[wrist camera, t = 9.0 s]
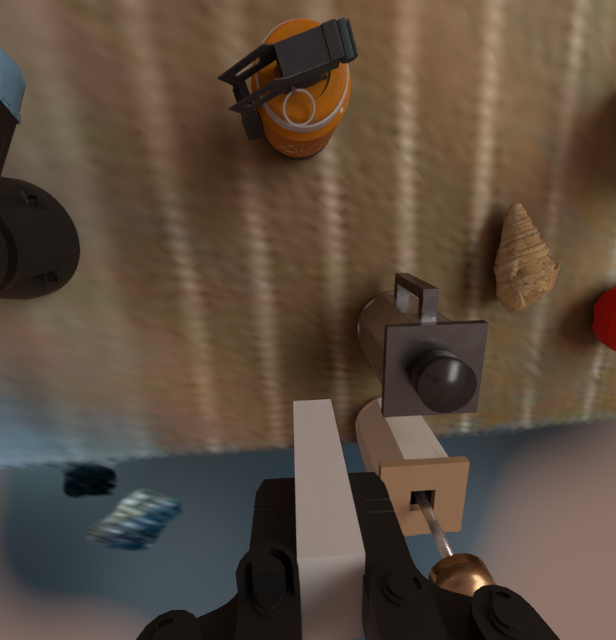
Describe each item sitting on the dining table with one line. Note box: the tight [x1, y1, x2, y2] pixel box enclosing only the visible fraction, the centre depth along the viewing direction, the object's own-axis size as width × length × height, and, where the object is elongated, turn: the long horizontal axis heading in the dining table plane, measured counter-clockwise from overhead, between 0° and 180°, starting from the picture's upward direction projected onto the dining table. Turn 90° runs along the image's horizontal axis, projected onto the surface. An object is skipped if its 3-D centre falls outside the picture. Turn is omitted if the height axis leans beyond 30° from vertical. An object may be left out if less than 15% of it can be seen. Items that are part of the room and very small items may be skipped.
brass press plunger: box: [410, 490, 496, 597], centre depth 38 cm, size 7×7×16 cm
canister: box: [218, 18, 358, 160], centre depth 34 cm, size 9×11×20 cm
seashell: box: [493, 203, 560, 313], centre depth 46 cm, size 14×8×8 cm, turn 18°
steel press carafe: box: [357, 273, 488, 417], centre depth 44 cm, size 10×14×16 cm
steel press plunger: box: [411, 350, 477, 413], centre depth 41 cm, size 7×7×16 cm
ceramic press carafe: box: [355, 396, 470, 536], centre depth 50 cm, size 10×14×16 cm
